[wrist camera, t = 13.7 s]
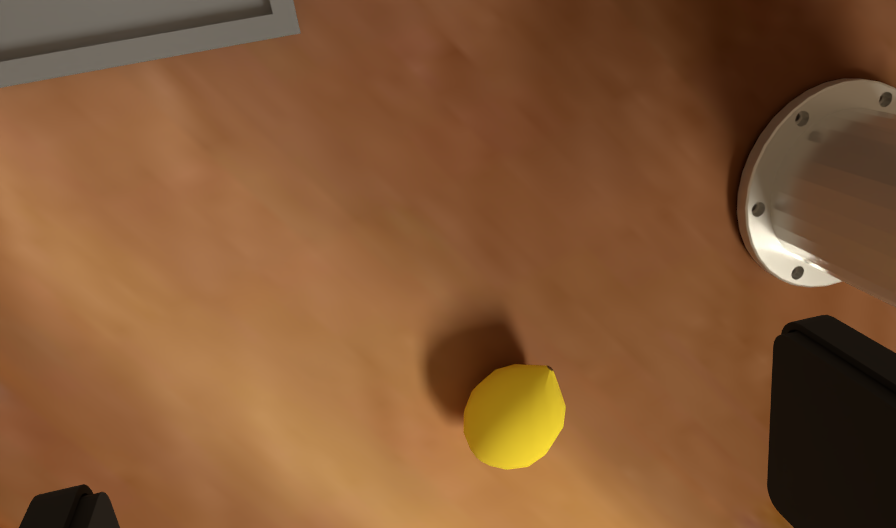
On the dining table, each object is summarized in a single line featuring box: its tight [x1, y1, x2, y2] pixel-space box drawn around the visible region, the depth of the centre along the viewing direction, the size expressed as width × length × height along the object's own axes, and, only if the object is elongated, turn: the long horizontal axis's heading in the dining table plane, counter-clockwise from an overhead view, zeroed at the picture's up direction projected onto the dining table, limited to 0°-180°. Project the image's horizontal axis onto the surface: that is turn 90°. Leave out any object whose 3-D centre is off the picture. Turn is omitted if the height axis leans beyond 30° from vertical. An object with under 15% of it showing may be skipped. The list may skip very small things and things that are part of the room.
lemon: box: [464, 364, 566, 470], centre depth 42 cm, size 7×5×5 cm
